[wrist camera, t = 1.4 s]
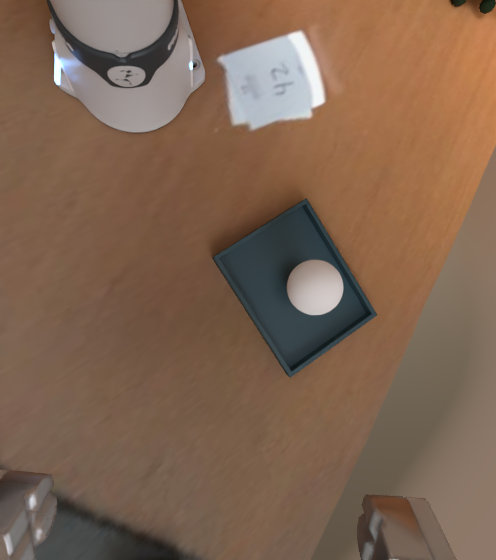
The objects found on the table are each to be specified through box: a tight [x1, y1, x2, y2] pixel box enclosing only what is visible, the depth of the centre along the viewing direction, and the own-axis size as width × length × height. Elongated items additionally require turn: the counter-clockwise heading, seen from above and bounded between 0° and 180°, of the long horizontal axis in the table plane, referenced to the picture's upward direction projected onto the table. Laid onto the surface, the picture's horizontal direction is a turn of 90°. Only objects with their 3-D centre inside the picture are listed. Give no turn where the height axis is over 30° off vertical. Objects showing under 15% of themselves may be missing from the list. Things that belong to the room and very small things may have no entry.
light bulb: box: [287, 260, 343, 315], centre depth 46 cm, size 7×7×11 cm
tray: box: [212, 198, 377, 377], centre depth 51 cm, size 19×15×2 cm
